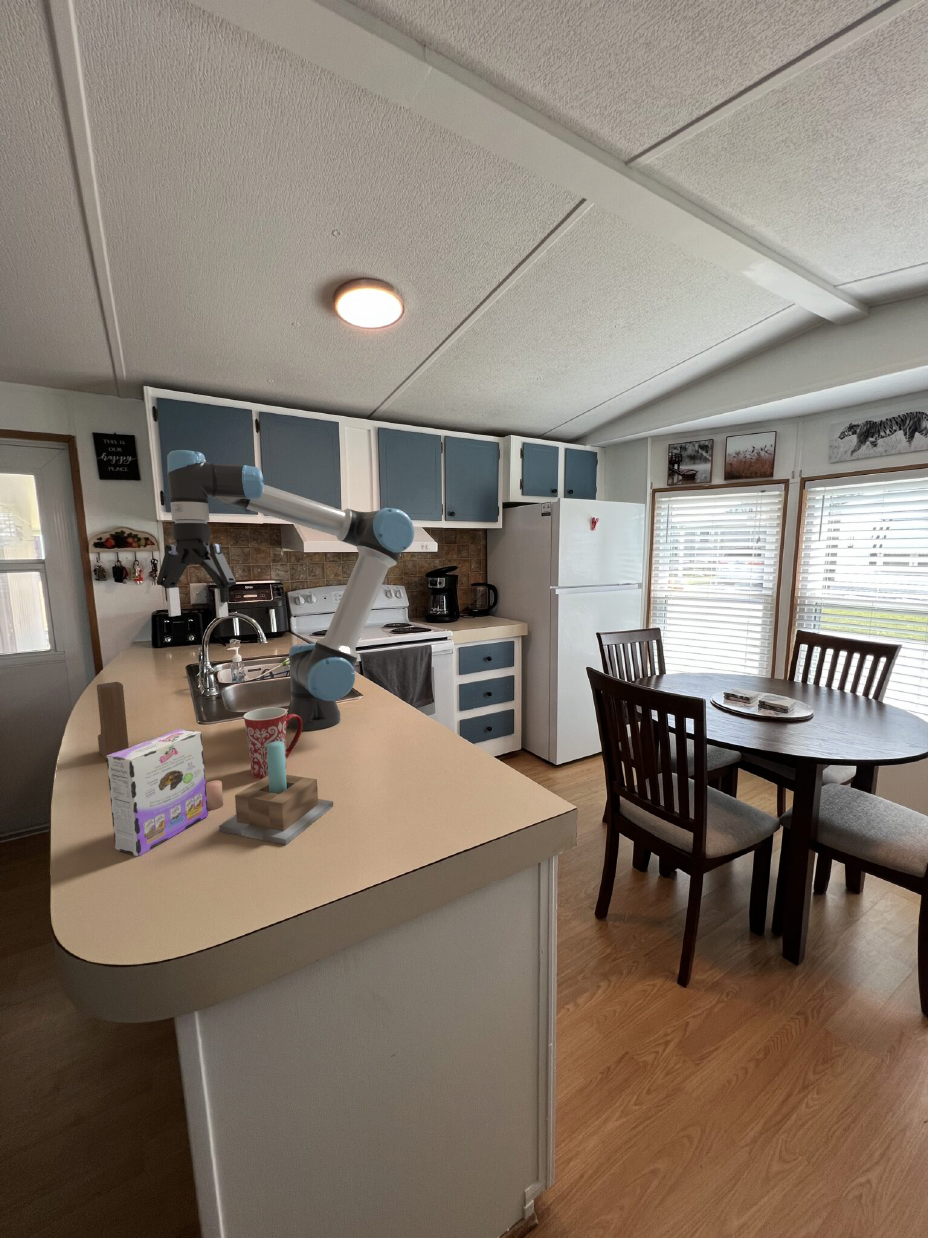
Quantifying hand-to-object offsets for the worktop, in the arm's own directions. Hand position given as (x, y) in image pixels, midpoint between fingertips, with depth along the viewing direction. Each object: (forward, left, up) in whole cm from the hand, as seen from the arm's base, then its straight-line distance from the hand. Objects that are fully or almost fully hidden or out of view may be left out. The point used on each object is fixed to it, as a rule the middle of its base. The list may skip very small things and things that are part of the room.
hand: (198, 616), depth 118 cm
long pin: (+18, +35, -34) cm, 52 cm away
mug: (0, +20, -34) cm, 40 cm away
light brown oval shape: (+18, +20, -34) cm, 43 cm away
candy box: (+28, +19, -34) cm, 48 cm away
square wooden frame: (+18, +35, -34) cm, 52 cm away
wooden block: (+5, -24, -34) cm, 42 cm away
